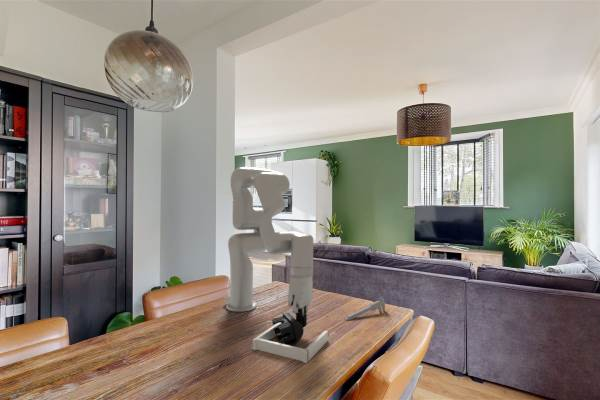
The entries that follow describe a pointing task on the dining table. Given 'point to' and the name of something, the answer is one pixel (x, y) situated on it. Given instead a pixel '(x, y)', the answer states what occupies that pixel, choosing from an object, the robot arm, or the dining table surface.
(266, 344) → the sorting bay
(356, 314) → the caliper
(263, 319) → the dining table surface
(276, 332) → the end cap
